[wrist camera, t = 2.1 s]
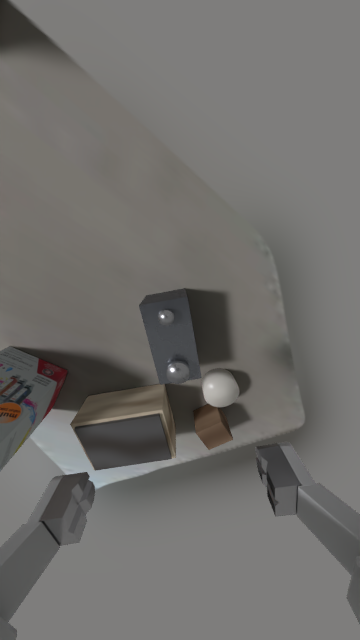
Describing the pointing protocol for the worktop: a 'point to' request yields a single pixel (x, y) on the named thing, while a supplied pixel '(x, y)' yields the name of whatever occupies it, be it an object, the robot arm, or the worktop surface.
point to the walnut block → (212, 426)
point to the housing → (171, 336)
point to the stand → (126, 427)
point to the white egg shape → (220, 388)
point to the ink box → (24, 397)
